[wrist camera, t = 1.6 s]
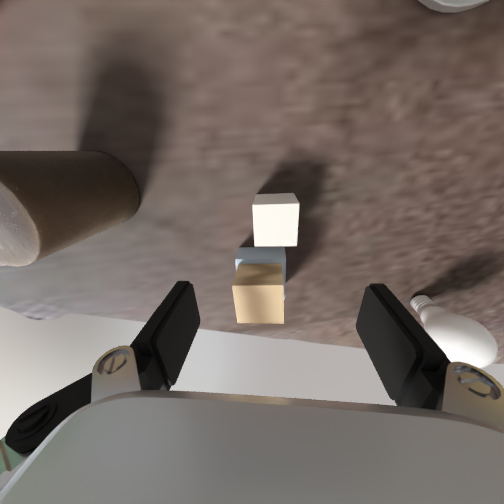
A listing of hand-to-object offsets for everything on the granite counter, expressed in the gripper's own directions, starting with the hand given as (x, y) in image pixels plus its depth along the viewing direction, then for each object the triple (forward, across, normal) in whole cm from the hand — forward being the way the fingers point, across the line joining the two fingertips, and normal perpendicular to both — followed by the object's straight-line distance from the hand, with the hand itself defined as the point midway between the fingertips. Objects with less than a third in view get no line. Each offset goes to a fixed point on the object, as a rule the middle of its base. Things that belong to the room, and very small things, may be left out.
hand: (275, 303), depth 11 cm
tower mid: (+15, +2, +9) cm, 18 cm away
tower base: (+19, +2, +9) cm, 21 cm away
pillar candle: (+19, +24, -4) cm, 31 cm away
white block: (+19, 0, 0) cm, 19 cm away
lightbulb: (+19, -24, +15) cm, 33 cm away
